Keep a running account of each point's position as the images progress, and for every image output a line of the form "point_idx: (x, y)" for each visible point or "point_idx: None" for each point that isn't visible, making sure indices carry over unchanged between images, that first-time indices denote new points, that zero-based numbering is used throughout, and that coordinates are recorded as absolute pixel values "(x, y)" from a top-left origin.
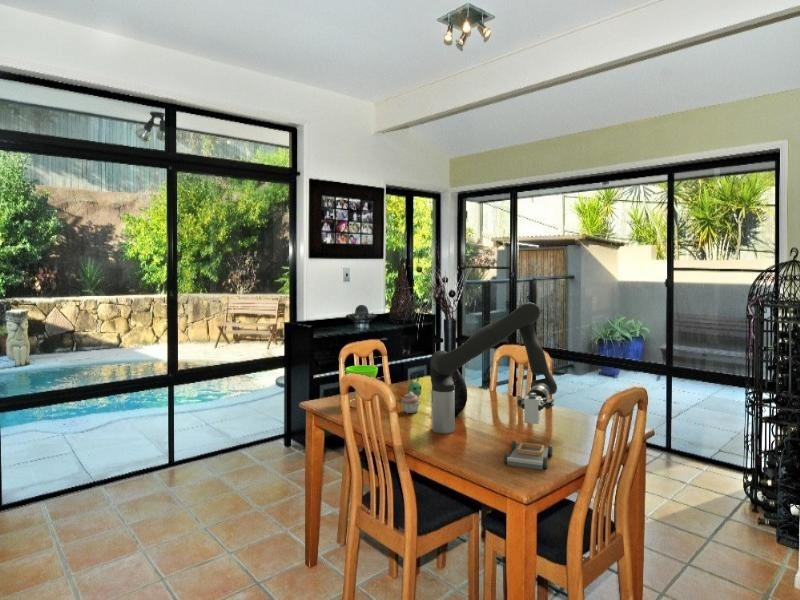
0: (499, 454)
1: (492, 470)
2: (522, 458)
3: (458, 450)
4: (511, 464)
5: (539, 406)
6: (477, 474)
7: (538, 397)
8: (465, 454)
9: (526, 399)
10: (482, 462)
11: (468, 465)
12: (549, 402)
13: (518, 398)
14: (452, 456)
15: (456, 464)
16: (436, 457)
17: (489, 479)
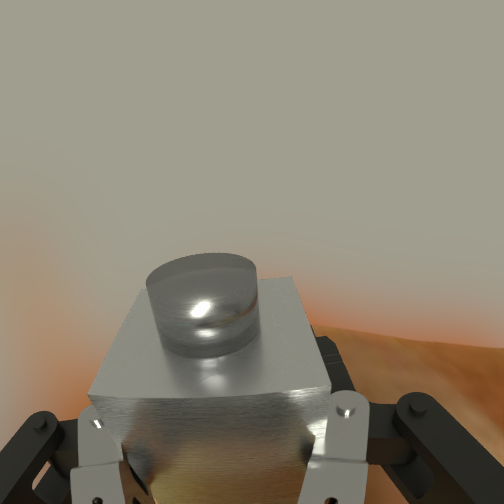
0: (381, 467)
1: None
2: None
3: (499, 409)
4: None
5: None
6: (347, 330)
7: (126, 346)
8: (463, 401)
9: (269, 285)
10: (384, 385)
11: (399, 354)
12: (23, 432)
13: (462, 438)
14: (472, 372)
15: (424, 345)
16: (487, 348)
17: (310, 324)
